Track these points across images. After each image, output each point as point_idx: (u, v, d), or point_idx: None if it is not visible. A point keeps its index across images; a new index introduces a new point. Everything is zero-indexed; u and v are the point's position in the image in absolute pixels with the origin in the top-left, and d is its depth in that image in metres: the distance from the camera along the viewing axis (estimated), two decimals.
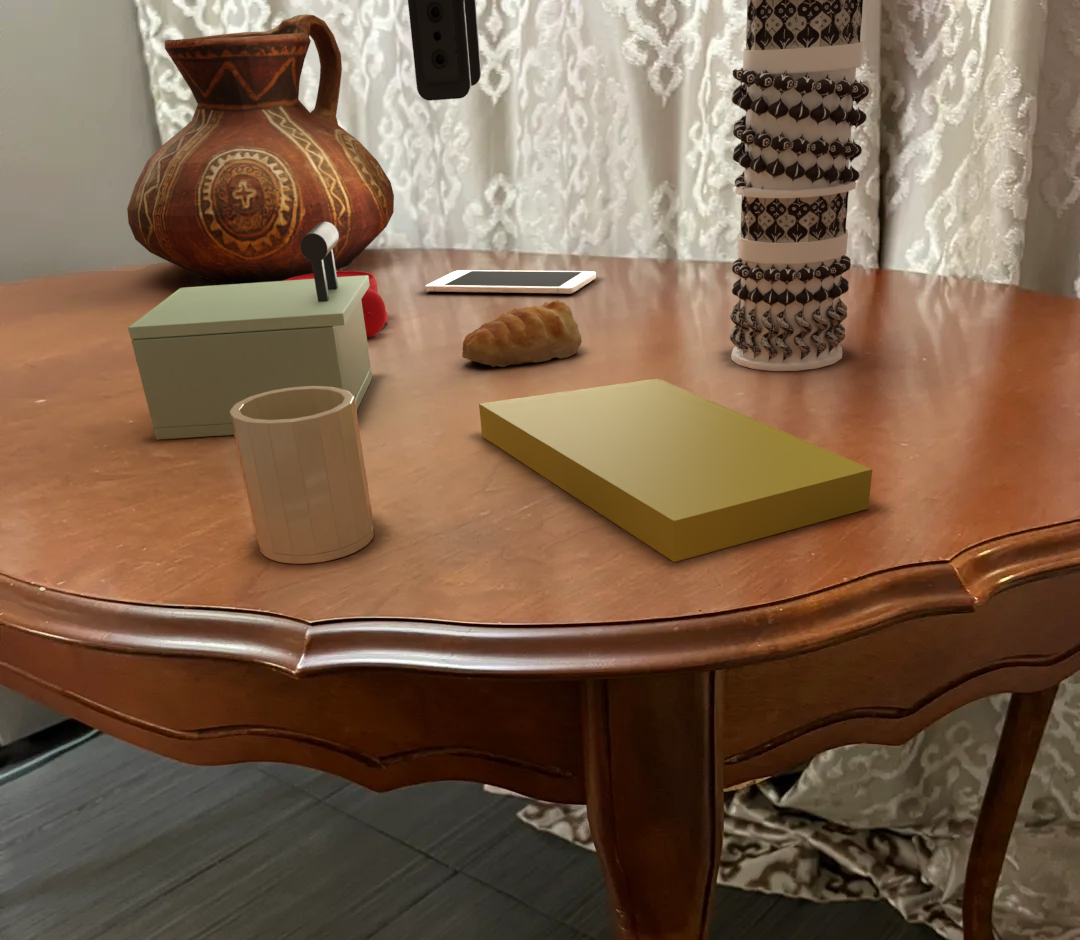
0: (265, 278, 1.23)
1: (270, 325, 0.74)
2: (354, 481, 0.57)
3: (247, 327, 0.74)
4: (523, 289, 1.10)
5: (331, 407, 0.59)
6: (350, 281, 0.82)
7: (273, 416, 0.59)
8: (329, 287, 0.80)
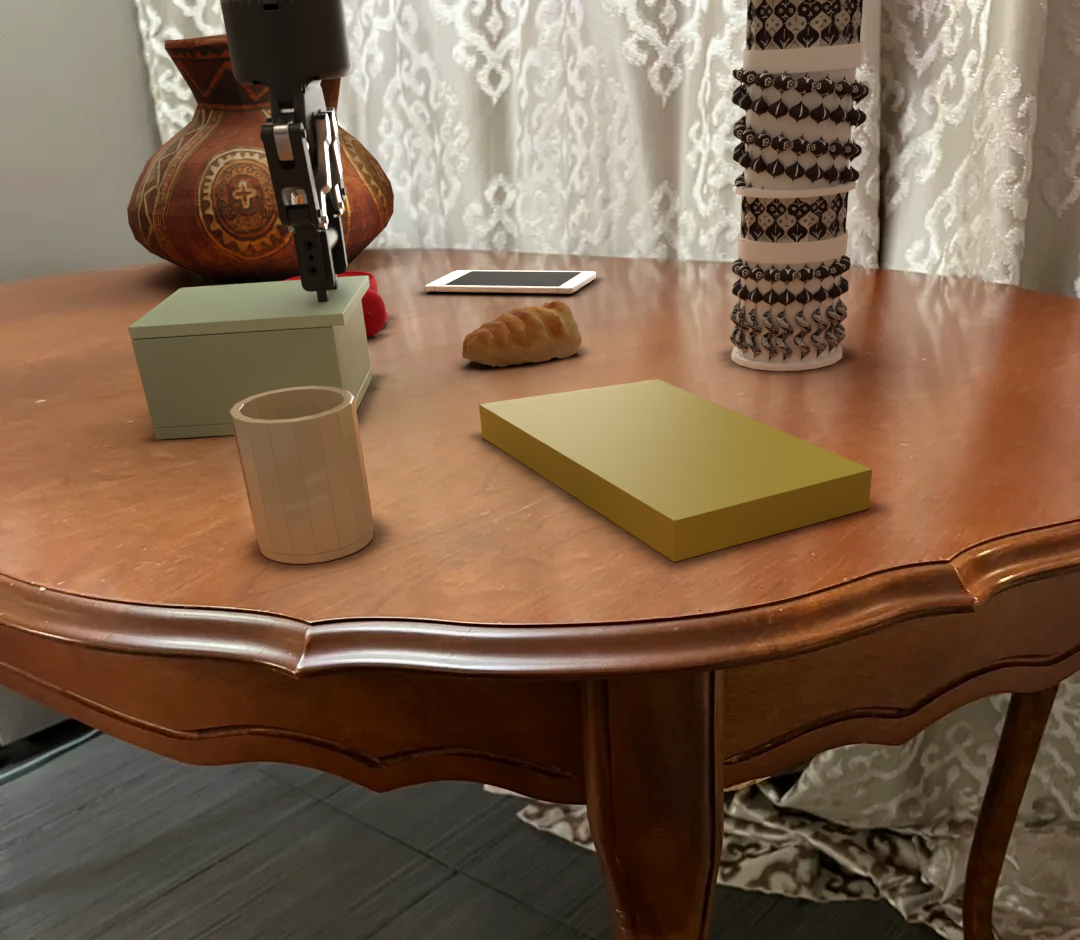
0: (265, 278, 1.23)
1: (270, 325, 0.74)
2: (354, 481, 0.57)
3: (247, 327, 0.74)
4: (523, 289, 1.10)
5: (331, 407, 0.59)
6: (350, 281, 0.82)
7: (273, 416, 0.59)
8: None
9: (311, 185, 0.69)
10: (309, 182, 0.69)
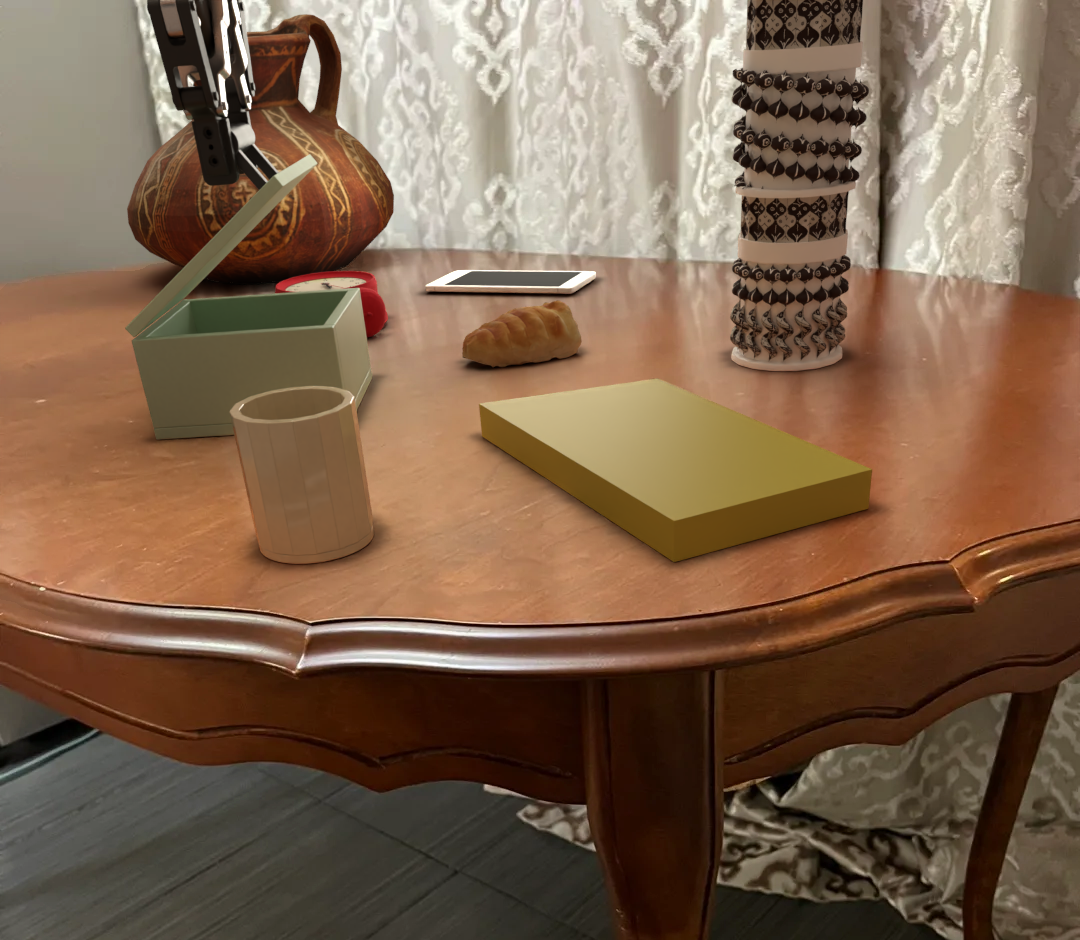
0: (265, 278, 1.23)
1: (226, 236, 0.71)
2: (354, 481, 0.57)
3: (210, 253, 0.71)
4: (523, 289, 1.10)
5: (331, 407, 0.59)
6: None
7: (273, 416, 0.59)
8: None
9: (204, 63, 0.66)
10: (201, 60, 0.66)
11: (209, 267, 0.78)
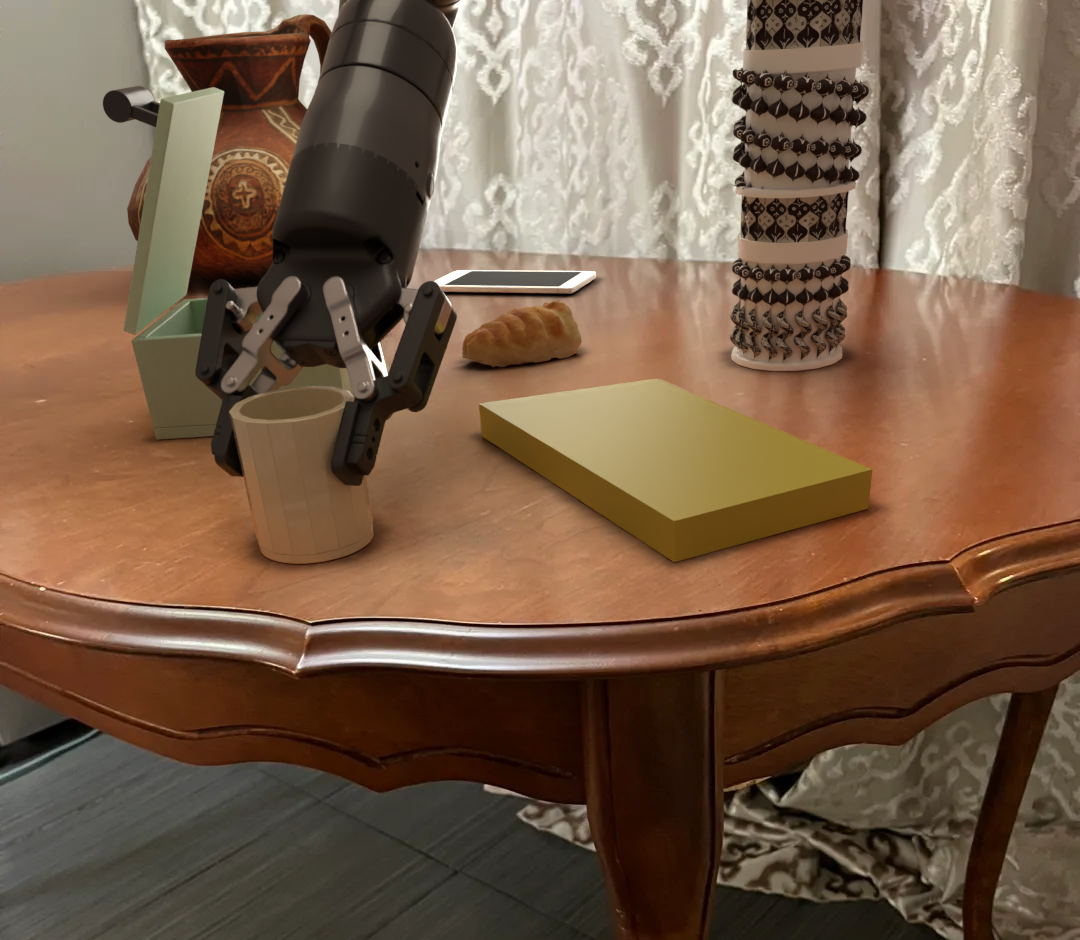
0: None
1: (154, 186, 0.69)
2: None
3: (151, 211, 0.70)
4: (523, 289, 1.10)
5: (331, 407, 0.59)
6: None
7: (272, 416, 0.59)
8: None
9: (437, 369, 0.57)
10: None
11: (175, 240, 0.77)
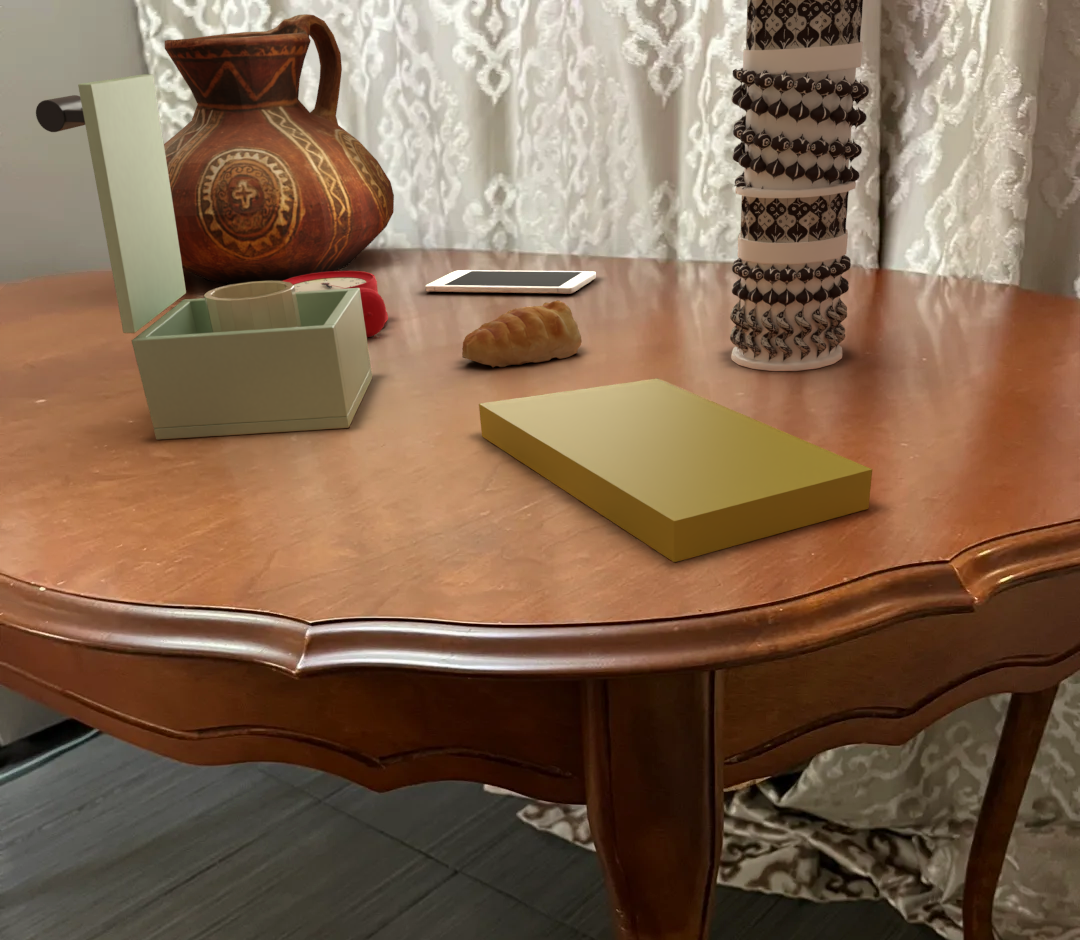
0: (265, 278, 1.23)
1: (102, 175, 0.69)
2: None
3: (107, 202, 0.70)
4: (523, 289, 1.10)
5: None
6: None
7: None
8: None
9: None
10: None
11: (149, 233, 0.76)
